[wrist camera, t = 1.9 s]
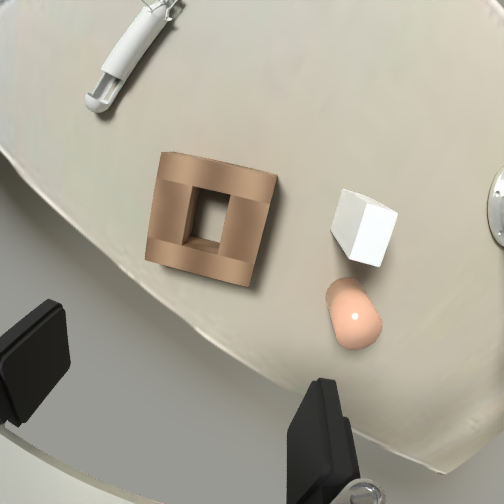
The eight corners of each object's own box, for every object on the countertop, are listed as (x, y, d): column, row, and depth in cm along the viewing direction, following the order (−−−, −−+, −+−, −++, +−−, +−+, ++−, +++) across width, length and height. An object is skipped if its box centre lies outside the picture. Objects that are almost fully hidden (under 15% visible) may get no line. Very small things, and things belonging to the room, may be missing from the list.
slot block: (276, 174, 34) (276, 177, 30) (251, 273, 38) (248, 287, 34) (173, 151, 34) (161, 152, 30) (156, 248, 38) (144, 259, 34)
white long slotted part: (112, 120, 33) (84, 117, 27) (88, 105, 33) (58, 100, 26) (195, 2, 28) (180, -22, 22) (166, -10, 27) (148, -32, 21)
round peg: (369, 282, 37) (389, 313, 29) (355, 316, 38) (370, 352, 31) (333, 273, 37) (346, 304, 29) (320, 309, 38) (328, 345, 31)
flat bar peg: (366, 195, 34) (398, 213, 24) (353, 236, 35) (379, 267, 26) (342, 188, 34) (367, 202, 24) (330, 230, 35) (349, 258, 26)
